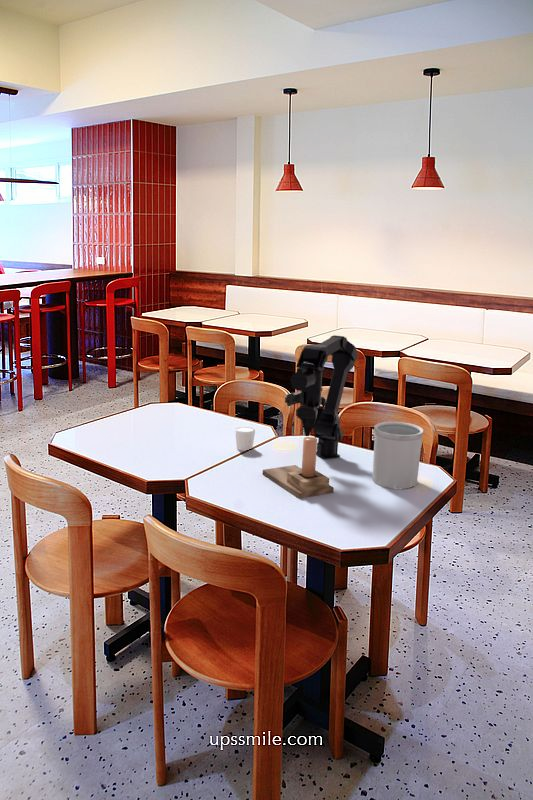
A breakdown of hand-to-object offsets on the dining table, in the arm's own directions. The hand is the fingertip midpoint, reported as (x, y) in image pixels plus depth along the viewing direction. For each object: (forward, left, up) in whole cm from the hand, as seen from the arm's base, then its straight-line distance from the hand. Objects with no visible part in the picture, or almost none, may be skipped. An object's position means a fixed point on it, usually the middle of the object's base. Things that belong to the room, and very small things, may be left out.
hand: (309, 432), depth 220 cm
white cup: (+10, -26, -12) cm, 30 cm away
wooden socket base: (+11, +11, -12) cm, 20 cm away
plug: (+11, +17, -7) cm, 22 cm away
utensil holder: (-18, +22, -12) cm, 31 cm away
